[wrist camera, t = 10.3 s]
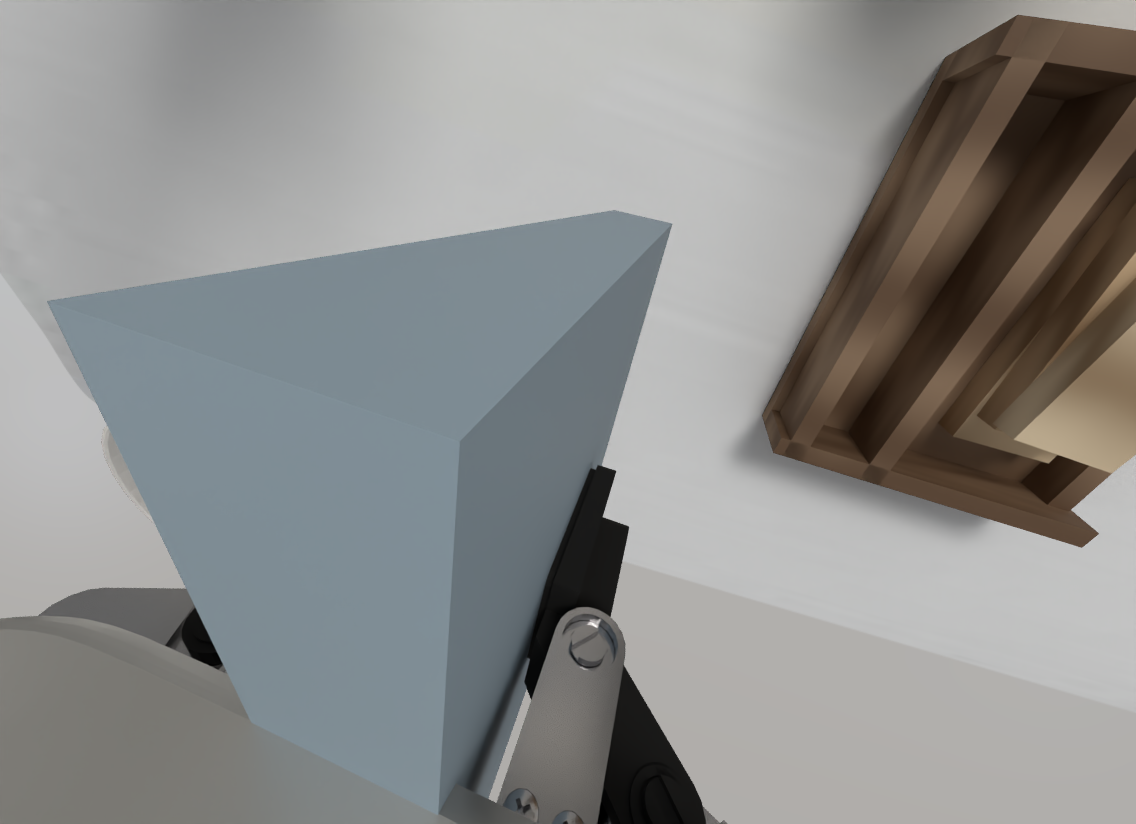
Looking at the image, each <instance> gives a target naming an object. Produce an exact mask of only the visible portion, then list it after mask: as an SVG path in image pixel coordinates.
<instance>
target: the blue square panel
mask: <svg viewBox="0 0 1136 824" xmlns="http://www.w3.org/2000/svg"><path fill="white" fill-rule="evenodd" d="M671 227H672V224H671V223H667V222H663V221H658V220H654V219H650V218H645V217H641V216H637V215H632V214H628V213H624V212H619V211H615V210H613V211H607V212H601V213H595V214H588V215H582V216H576V217H570V218H563V219H557V220H551V221H545V222H538V223H532V224H526V225H520V226H513V227H507V228H501V229H495V230H488V231H482V232H476V233H470V234H464V235H457V236H451V237H445V238H439V239H432V240H426V241H420V242H414V243H407V244H401V245H395V246H389V247H382V248H376V249H370V250H364V251H357V252H351V253H345V254H339V255H332V256H326V257H320V258H314V259H307V260H301V261H295V262H289V263H282V264H276V265H270V266H264V267H257V268H251V269H245V270H239V271H232V272H226V273H220V274H214V275H208V276H201V277H195V278H189V279H183V280H176V281H170V282H164V283H158V284H151V285H145V286H139V287H133V288H126V289H120V290H114V291H108V292H101V293H95V294H89V295H83V296H76V297H70V298H64V299H58V300H51V301H47V302H48V304H49V306H50V308H51V311H52V313H53V315H54V317H55V319H56V321H57V323H58V325H59V327H60V329H61V331H62V333H63V335H64V337H65V339H66V341H67V344H68V346H69V348H70V350H71V352H72V354H73V356H74V358H75V360H76V362H77V364H78V366H79V368H80V370H81V372H82V374H83V377H84V379H85V381H86V383H87V385H88V387H89V389H90V391H91V393H92V395H93V397H94V399H95V401H96V403H97V405H98V407H99V410H100V412H101V414H102V416H103V418H104V420H105V422H106V423H107V426H108V428H109V430H110V432H111V434H112V436H113V438H114V440H115V442H116V445H117V447H118V449H119V451H120V453H121V455H122V457H123V459H124V461H125V463H126V465H127V467H128V469H129V471H130V473H131V475H132V478H133V480H134V482H135V484H136V486H137V488H138V490H139V492H140V494H141V496H142V498H143V500H144V502H145V504H146V506H147V508H148V511H149V513H150V515H151V517H152V519H153V521H154V523H155V525H156V527H157V529H158V531H159V533H160V535H161V537H162V539H163V541H164V544H165V546H166V548H167V549H168V552H169V554H170V556H171V558H172V560H173V562H174V564H175V566H176V568H177V570H178V572H179V574H180V577H181V578H182V580H183V583H184V585H185V587H186V589H187V591H188V593H189V595H190V597H191V599H192V601H193V603H194V605H195V607H196V610H197V612H198V614H199V616H200V618H201V620H202V622H203V624H204V626H205V628H206V630H207V632H208V634H209V636H210V638H211V640H212V643H213V645H214V647H215V649H216V651H217V653H218V655H219V657H220V659H221V661H222V663H223V665H224V667H225V669H226V671H227V673H228V676H229V678H230V680H231V682H232V684H233V686H234V688H235V690H236V692H237V694H238V696H239V698H240V700H241V702H242V704H243V706H244V709H245V711H246V713H247V715H248V717H249V719H250V721H251V723H253V724H255V725H257V726H259V727H261V728H263V729H265V730H267V731H269V732H271V733H273V734H275V735H277V736H279V737H281V738H283V739H285V740H287V741H290V742H292V743H294V744H296V745H298V746H300V747H302V748H304V749H306V750H308V751H310V752H312V753H314V754H316V755H318V756H320V757H322V758H324V759H326V760H328V761H330V762H332V763H334V764H336V765H338V766H340V767H342V768H344V769H346V770H348V771H350V772H352V773H354V774H356V775H358V776H360V777H362V778H364V779H366V780H368V781H370V782H372V783H374V784H376V785H378V786H380V787H382V788H384V789H386V790H388V791H390V792H392V793H394V794H396V795H398V796H400V797H402V798H404V799H406V800H408V801H410V802H412V803H414V804H416V805H418V806H420V807H422V808H424V809H426V810H428V811H430V812H432V813H434V814H436V815H438V814H439V812H440V810H441V809H442V807H443V805H444V803H445V802H446V800H447V798H448V796H449V795H450V793H451V791H452V789H453V788H454V786H455V784H458V785H460V786H462V787H464V788H466V789H468V790H471V791H473V792H475V793H477V794H479V795H481V796H483V797H485V798H487V799H488V798H489V795H490V792H491V789H492V786H493V783H494V780H495V778H496V775H497V772H498V769H499V766H500V763H501V761H502V758H503V755H504V752H505V749H506V746H507V744H508V741H509V738H510V735H511V732H512V729H513V726H514V723H515V721H516V718H517V715H518V712H519V709H520V706H521V703H522V700H523V698H524V695H525V692H526V689H527V688H526V685H525V683H524V680H525V676H526V673H527V669H528V665H529V661H530V659H529V658H527V655H528V651H529V647H530V643H531V639H532V635H533V631H534V627H535V623H536V619H537V615H538V611H539V607H540V603H541V599H542V595H543V591H544V587H545V584H546V580H547V577H548V574H549V571H550V569H551V566H552V564H553V561H554V559H555V556H556V554H557V551H558V549H559V546H560V544H561V541H562V539H563V536H564V534H565V531H566V529H567V526H568V524H569V521H570V518H571V516H572V513H573V511H574V508H575V506H576V503H577V501H578V498H579V496H580V493H581V491H582V488H583V486H584V483H585V481H586V478H587V476H588V473H589V471H590V469H591V468H592V469H595V470H596V468H597V465H600V466H602V462H603V459H604V455H605V452H606V449H607V445H608V442H609V438H610V435H611V432H612V428H613V425H614V421H615V418H616V414H617V411H618V408H619V404H620V401H621V397H622V394H623V391H624V387H625V384H626V380H627V377H628V373H629V370H630V367H631V363H632V360H633V356H634V353H635V350H636V346H637V343H638V339H639V336H640V332H641V329H642V326H643V322H644V319H645V315H646V312H647V309H648V305H649V302H650V298H651V295H652V291H653V288H654V285H655V281H656V278H657V274H658V271H659V268H660V264H661V261H662V257H663V254H664V250H665V247H666V244H667V240H668V237H669V233H670V230H671Z"/></svg>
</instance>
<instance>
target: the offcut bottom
mask: <svg viewBox="0 0 1136 824" xmlns="http://www.w3.org/2000/svg"><path fill="white" fill-rule="evenodd" d="M1135 203H1136V178H1129V179H1128V181H1127V182H1126V183H1125V185H1124V186H1123V187H1122V188H1121V190H1120V191H1119V192H1118V193H1117V195H1116V196H1115V197H1114V199H1113V200H1112V201H1111V202H1110V204H1109V205H1108V206H1107V208H1106V209H1105V210H1104V211H1103V213H1102V214H1101V215H1100V217H1099V218H1098V219H1097V220H1096V222H1095V223H1094V224H1093V225H1092V227H1091V228H1090V229H1089V231H1088V232H1087V233H1086V234H1085V236H1084V237H1083V238H1082V240H1081V241H1080V242H1079V243H1078V245H1077V246H1076V247H1075V248H1074V250H1073V251H1072V252H1071V254H1070V255H1069V256H1068V257H1067V259H1066V260H1065V261H1064V263H1063V264H1062V265H1061V266H1060V268H1059V269H1058V270H1057V272H1056V273H1055V274H1054V275H1053V277H1052V278H1051V279H1050V280H1049V282H1048V283H1047V284H1046V286H1045V287H1044V288H1043V289H1042V291H1041V292H1040V293H1039V295H1038V296H1037V297H1036V298H1035V300H1034V301H1033V302H1032V304H1031V305H1030V306H1029V307H1028V309H1027V310H1026V311H1025V312H1024V314H1023V315H1022V316H1021V318H1020V319H1019V320H1018V321H1017V323H1016V324H1015V325H1014V327H1013V328H1012V329H1011V330H1010V332H1009V333H1008V334H1007V335H1006V337H1005V338H1004V339H1003V341H1002V342H1001V343H1000V344H999V346H998V347H997V348H996V350H995V351H994V352H993V353H992V355H991V356H990V357H989V359H988V360H987V361H986V362H985V364H984V365H983V366H982V367H981V369H980V370H979V371H978V373H977V374H976V375H975V376H974V378H973V379H972V380H971V382H970V383H969V384H968V385H967V387H966V388H965V389H964V390H963V392H962V393H961V394H960V396H959V397H958V398H957V399H956V401H955V402H954V403H953V405H952V406H951V407H950V408H949V410H948V411H947V412H946V414H945V415H944V416H943V417H942V419H941V420H940V421H939V422H938V423H939V424H940V425H941V426H942V427H943V428H944V429H945V430H946V431H947V432H948V433H950V434H951V435H952V436H953V437H957V438H960V439H964V440H967V441H971V442H974V443H978V444H982V445H985V446H989V447H992V448H996V449H999V450H1003V451H1006V452H1010V453H1013V454H1017V455H1020V456H1024V457H1027V458H1031V459H1035V460H1038V461H1042V462H1045V463H1050V462H1051V461H1052V460H1053V459H1054V458H1055V457H1056V456H1057V454H1054V453H1051V452H1048V451H1045V450H1042V449H1040V448H1037V447H1034V446H1031V445H1028V444H1025V443H1022V442H1019V441H1016V440H1014V439H1012V438H1011V437H1010V436H1008V435H1007V434H1006V433H1004V432H1002V431H998V430H995V429H993V428H992V427H991V426H989V425H988V424H987V423H986V422H984V421H983V420H982V419H980V418H979V417H978V416H977V414H978V413H979V412H980V410H981V409H982V408H983V406H984V405H985V404H986V402H987V401H988V400H989V398H990V397H991V396H992V394H993V393H994V392H995V390H996V389H997V388H998V386H999V385H1000V384H1001V382H1002V381H1003V380H1004V378H1005V377H1006V376H1007V374H1008V373H1009V372H1010V370H1011V369H1012V368H1013V366H1014V365H1015V364H1016V362H1017V361H1018V360H1019V358H1020V357H1021V356H1022V354H1023V353H1024V352H1025V350H1026V349H1027V348H1028V346H1029V345H1030V344H1031V342H1032V341H1033V340H1034V338H1035V337H1036V336H1037V334H1038V333H1039V332H1040V330H1041V329H1042V328H1043V326H1044V325H1045V324H1046V322H1047V321H1048V319H1049V318H1050V317H1051V315H1052V314H1053V313H1054V311H1055V310H1056V309H1057V307H1058V306H1059V305H1060V303H1061V302H1062V301H1063V299H1064V298H1065V297H1066V295H1067V294H1068V293H1069V291H1070V290H1071V289H1072V287H1073V286H1074V285H1075V283H1076V282H1077V281H1078V279H1079V278H1080V277H1081V275H1082V274H1083V273H1084V271H1085V270H1086V269H1087V267H1088V266H1089V265H1090V263H1091V262H1092V261H1093V259H1094V258H1095V257H1096V255H1097V254H1098V253H1099V251H1100V250H1101V249H1102V247H1103V246H1104V245H1105V243H1106V242H1107V241H1108V239H1109V238H1110V237H1111V235H1112V234H1113V233H1114V231H1115V230H1116V229H1117V227H1118V226H1119V225H1120V223H1121V222H1122V221H1123V219H1124V218H1125V217H1126V215H1127V214H1128V213H1129V211H1130V210H1131V209H1132V207H1133V206H1134V205H1135Z"/></svg>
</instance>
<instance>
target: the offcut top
mask: <svg viewBox="0 0 1136 824" xmlns="http://www.w3.org/2000/svg"><path fill="white" fill-rule="evenodd" d="M992 424H994V425H995V426H996V427H998V428H999V429H1000V430H1002V431H1003V432H1004V433H1006V434H1007V435H1008V436H1010V437H1011V438H1012V439H1014V440H1016V441H1019V442H1022V443H1025V444H1028V445H1031V446H1034V447H1037V448H1040V449H1042V450H1045V451H1048V452H1051V453H1054V454H1057V455H1060V456H1063V457H1066V458H1069V459H1071V460H1074V461H1077V462H1080V463H1083V464H1086V465H1089V466H1092V467H1095V468H1097V469H1100V470H1103V471H1106V472H1109V473H1113V472H1114V471H1115V470H1117V469H1118V468H1119V467H1120V466H1122V465H1123V464H1124V463H1126V462H1127V461H1128V460H1129V459H1131V458H1132V457H1133V456H1134V455H1136V278H1135V279H1134V280H1133V281H1132V282H1131V283H1130V284H1129V285H1128V286H1127V287H1126V288H1125V289H1124V290H1123V291H1122V292H1121V293H1120V294H1119V295H1118V296H1117V297H1116V298H1115V299H1114V300H1113V301H1112V302H1111V303H1110V304H1109V305H1108V306H1107V307H1106V308H1105V309H1104V310H1103V311H1102V312H1101V313H1100V314H1099V315H1098V317H1097V318H1096V319H1095V320H1094V321H1093V322H1092V323H1091V324H1090V325H1089V326H1088V327H1087V328H1086V329H1085V330H1084V331H1083V332H1082V333H1081V334H1080V335H1079V336H1078V337H1077V338H1076V339H1075V340H1074V341H1073V342H1072V343H1071V344H1070V345H1069V346H1068V347H1067V348H1066V349H1065V350H1064V351H1063V352H1062V353H1061V354H1060V355H1059V356H1058V357H1057V358H1056V359H1055V360H1054V361H1053V362H1052V363H1051V364H1050V365H1049V366H1048V367H1047V368H1046V369H1045V370H1044V372H1043V373H1042V374H1041V375H1040V376H1039V377H1038V378H1037V379H1036V380H1035V381H1034V382H1033V383H1032V384H1031V385H1030V386H1029V387H1028V388H1027V389H1026V390H1025V391H1024V392H1023V393H1022V394H1021V395H1020V396H1019V397H1018V398H1017V399H1016V400H1015V401H1014V402H1013V403H1012V404H1011V405H1010V406H1009V407H1008V408H1007V409H1006V410H1005V411H1004V412H1003V413H1002V414H1001V415H1000V416H999V417H998V418H997V419H996V420H995V421H994V422H993V423H992Z"/></svg>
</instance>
